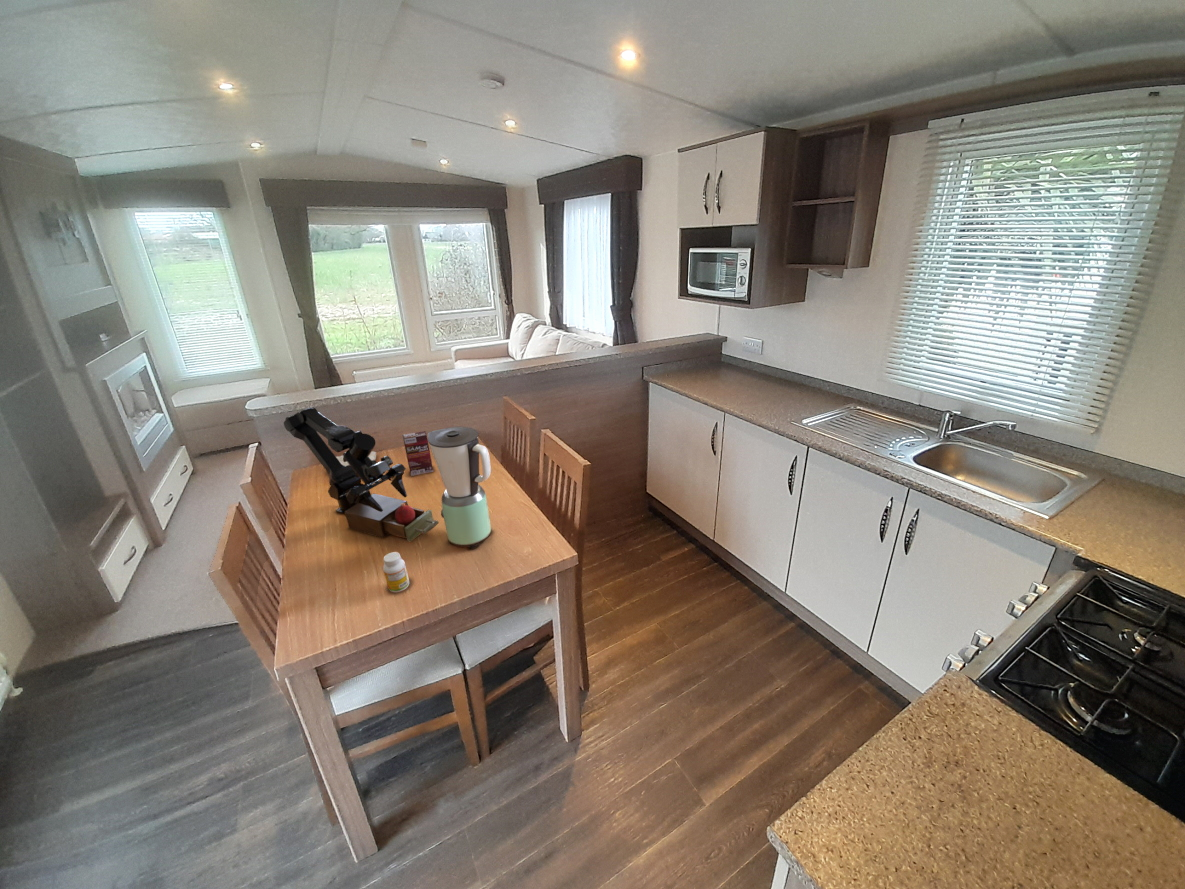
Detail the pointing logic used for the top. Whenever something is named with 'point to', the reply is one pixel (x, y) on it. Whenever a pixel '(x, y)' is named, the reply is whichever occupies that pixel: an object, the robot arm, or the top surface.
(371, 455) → the washcloth
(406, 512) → the onion
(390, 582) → the supplement bottle
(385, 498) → the cabinet
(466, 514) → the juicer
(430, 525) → the drawer
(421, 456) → the supplement box
